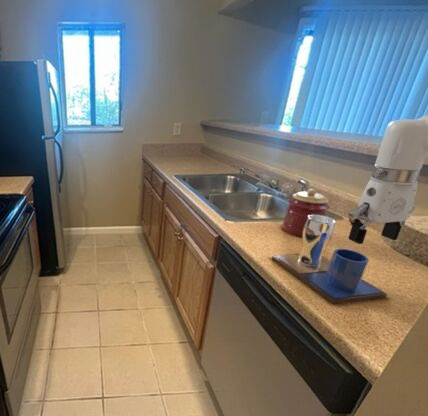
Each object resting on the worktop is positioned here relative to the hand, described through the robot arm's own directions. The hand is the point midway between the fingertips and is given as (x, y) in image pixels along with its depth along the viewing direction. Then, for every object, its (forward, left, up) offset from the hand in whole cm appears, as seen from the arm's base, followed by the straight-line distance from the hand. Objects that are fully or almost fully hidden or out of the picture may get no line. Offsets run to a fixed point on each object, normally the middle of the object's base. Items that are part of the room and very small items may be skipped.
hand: (371, 239), depth 70 cm
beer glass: (+3, -12, -14) cm, 19 cm away
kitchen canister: (-15, -35, -16) cm, 41 cm away
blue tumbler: (+3, -1, -14) cm, 14 cm away
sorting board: (+3, -7, -16) cm, 17 cm away
